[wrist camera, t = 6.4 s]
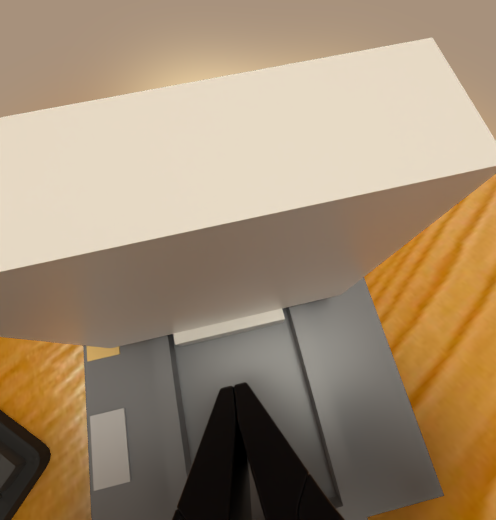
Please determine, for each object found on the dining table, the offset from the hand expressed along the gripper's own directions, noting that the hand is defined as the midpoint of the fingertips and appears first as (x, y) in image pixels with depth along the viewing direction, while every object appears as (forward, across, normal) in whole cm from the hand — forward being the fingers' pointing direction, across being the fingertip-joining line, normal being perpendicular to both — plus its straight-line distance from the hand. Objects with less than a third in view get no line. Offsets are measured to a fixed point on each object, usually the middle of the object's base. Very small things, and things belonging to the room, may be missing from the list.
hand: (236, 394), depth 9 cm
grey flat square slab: (+6, 0, +4) cm, 7 cm away
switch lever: (+7, 0, +1) cm, 7 cm away
